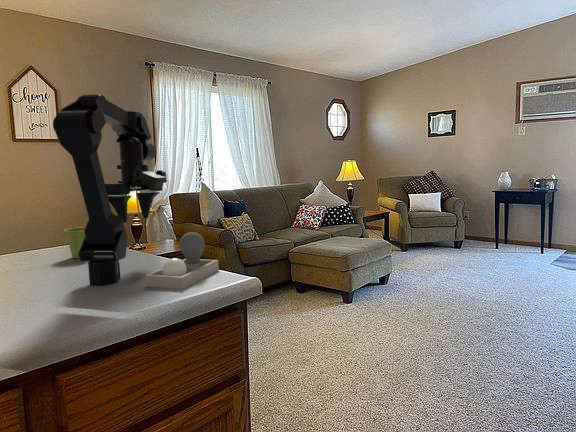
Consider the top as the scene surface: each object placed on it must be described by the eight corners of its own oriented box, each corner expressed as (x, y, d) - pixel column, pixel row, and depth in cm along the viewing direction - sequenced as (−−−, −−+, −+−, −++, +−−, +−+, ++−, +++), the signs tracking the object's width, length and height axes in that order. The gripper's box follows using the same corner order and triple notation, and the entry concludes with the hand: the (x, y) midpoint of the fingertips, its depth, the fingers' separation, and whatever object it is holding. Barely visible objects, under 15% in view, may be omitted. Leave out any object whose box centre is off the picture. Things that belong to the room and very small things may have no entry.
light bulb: (209, 269, 109) (207, 230, 108) (201, 276, 103) (200, 234, 102) (185, 269, 110) (183, 230, 109) (177, 275, 104) (175, 234, 103)
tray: (183, 293, 93) (182, 277, 92) (145, 290, 95) (144, 275, 95) (218, 273, 109) (218, 260, 109) (186, 271, 112) (185, 258, 112)
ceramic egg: (179, 285, 95) (178, 261, 94) (157, 284, 97) (156, 260, 96) (191, 279, 100) (190, 256, 99) (171, 278, 102) (169, 255, 101)
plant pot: (66, 255, 136) (64, 228, 135) (99, 252, 140) (97, 225, 139) (65, 261, 128) (63, 232, 127) (100, 258, 132) (98, 229, 131)
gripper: (136, 160, 104) (140, 225, 105) (177, 160, 121) (180, 216, 123) (97, 161, 107) (101, 224, 109) (143, 161, 125) (146, 216, 126)
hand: (135, 220), depth 117 cm, fingers open, 9 cm apart
